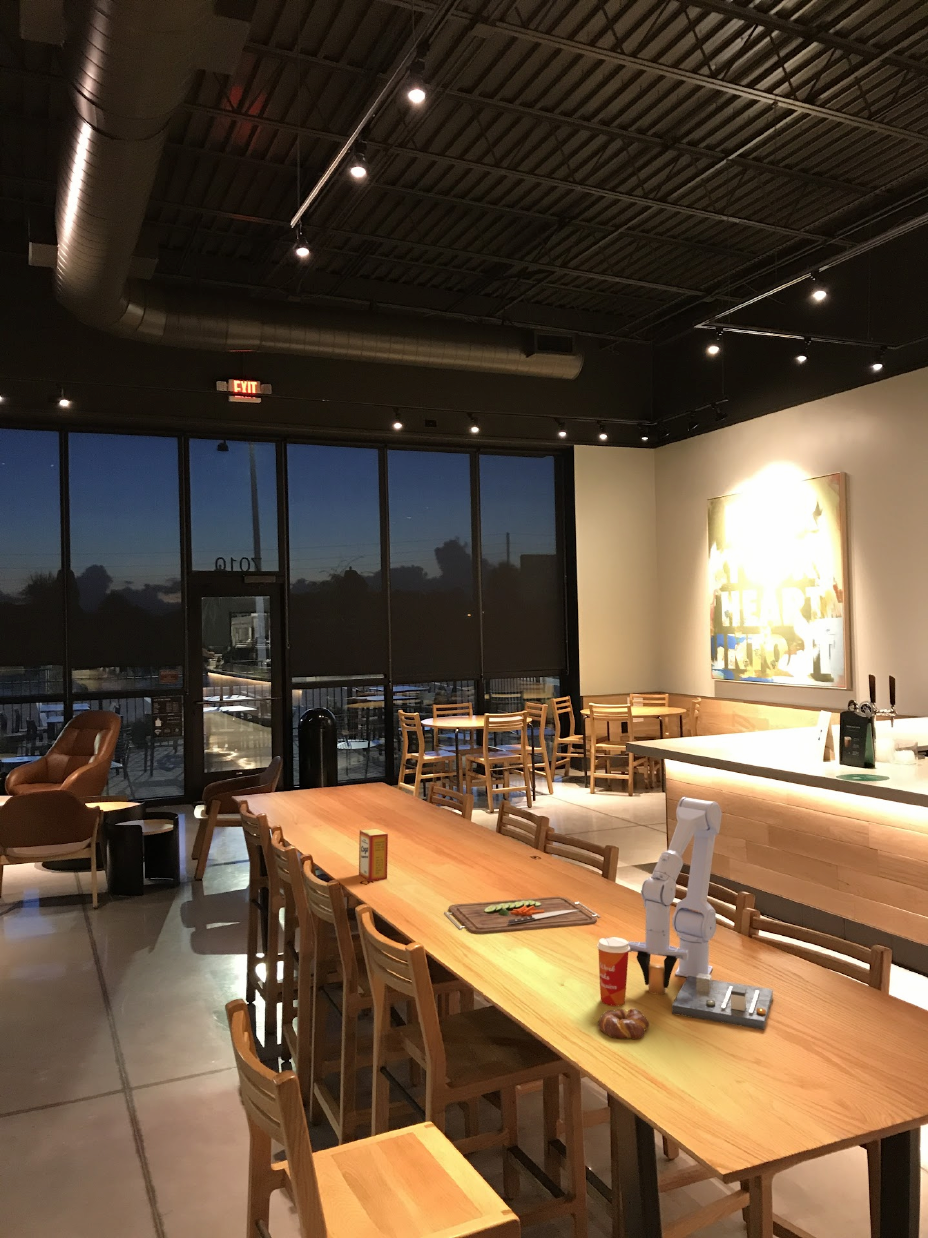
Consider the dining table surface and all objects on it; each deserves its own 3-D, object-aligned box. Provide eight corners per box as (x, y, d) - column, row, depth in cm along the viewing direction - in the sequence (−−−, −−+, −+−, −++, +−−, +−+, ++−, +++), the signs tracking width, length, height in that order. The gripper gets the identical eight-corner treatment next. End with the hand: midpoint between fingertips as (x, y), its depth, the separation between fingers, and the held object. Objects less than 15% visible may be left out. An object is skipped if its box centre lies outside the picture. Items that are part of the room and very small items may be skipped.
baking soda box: (358, 875, 328) (359, 829, 328) (375, 872, 331) (376, 827, 331) (369, 881, 319) (370, 834, 320) (387, 879, 323) (387, 832, 323)
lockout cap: (650, 987, 228) (650, 962, 228) (666, 989, 226) (667, 965, 226) (646, 992, 224) (647, 967, 224) (663, 995, 223) (663, 970, 223)
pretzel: (616, 1015, 212) (616, 999, 212) (659, 1029, 205) (659, 1012, 205) (587, 1031, 202) (588, 1014, 203) (631, 1046, 195) (632, 1028, 196)
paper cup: (590, 997, 221) (591, 938, 221) (618, 993, 223) (619, 935, 224) (606, 1010, 213) (607, 949, 214) (635, 1006, 216) (636, 945, 216)
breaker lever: (732, 1004, 213) (732, 986, 213) (746, 1006, 212) (746, 988, 212) (730, 1008, 210) (731, 990, 210) (744, 1011, 209) (744, 993, 209)
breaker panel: (687, 983, 230) (688, 963, 230) (772, 997, 222) (772, 976, 222) (672, 1013, 212) (672, 991, 212) (763, 1030, 204) (764, 1007, 204)
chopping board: (571, 899, 303) (571, 890, 303) (608, 924, 278) (608, 914, 278) (438, 910, 290) (439, 900, 290) (465, 937, 264) (465, 926, 264)
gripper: (624, 929, 225) (623, 985, 225) (684, 938, 219) (684, 996, 219) (631, 921, 231) (630, 976, 231) (690, 929, 225) (689, 985, 225)
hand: (656, 985), depth 225 cm, fingers closed on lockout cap, 4 cm apart
